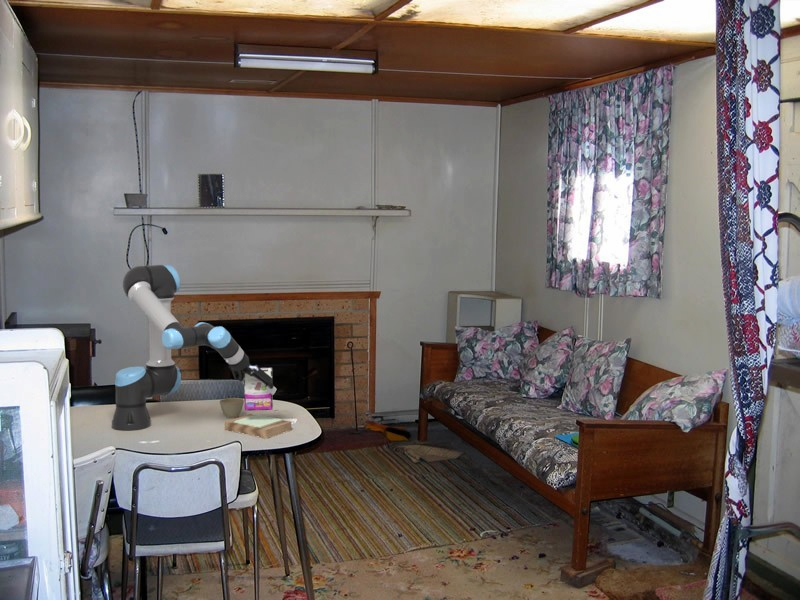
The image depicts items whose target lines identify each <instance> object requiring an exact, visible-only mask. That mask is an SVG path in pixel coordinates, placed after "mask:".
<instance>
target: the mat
mask: <svg viewBox="0 0 800 600" xmlns="http://www.w3.org/2000/svg"><path fill="white" fill-rule="evenodd" d="M282 420H283V419H280V418H276V417H271V416H270V417H269V416H265V415H259V414H253V416H250V417H246V418H243V419H240V420H236V421H234V423H239V424H244V425H249V426H254V427H259V428H261V427H264V426H268V425H271V424H274V423H277V422H280V421H282Z"/></svg>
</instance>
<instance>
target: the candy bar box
mask: <svg viewBox="0 0 800 600" xmlns="http://www.w3.org/2000/svg"><path fill="white" fill-rule="evenodd" d="M259 368H260V369H262V370H263V371H264V372H265V373H266V374H268V375H269V376H270V377H271V378H272V379H273V367H259ZM252 372H253V370H252ZM252 372H251V374H252ZM243 388H244V391H243V393H244V397H243V400H244V411H246V412H247V411H248V412H249V411H272V410H273V408H274V404H273V403H274V401H273V399H274V398H273V395H272V394H271V393H270V391H269V390H268V389H267V388H266V387H265V384H264V383H262V382H261V381H259V380H258V379H256V378H255V377H253V376H252V377H251V376H250V375H248V374H244V384H243Z"/></svg>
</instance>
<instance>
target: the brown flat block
mask: <svg viewBox="0 0 800 600" xmlns="http://www.w3.org/2000/svg"><path fill="white" fill-rule="evenodd" d="M253 415H254V414H252V413H249V414H245V415H242V416H238V417H237V418H230V419H228V420H225V421H224V431H227V430H228V432H232V431H233V432H232V433H237V432H240V433H239V434H242V433H244V434H243V435H246V434H249V435H248V436H251V435H254V436H253V437H256V436H259V437H258V438H261V437H263V438H262V439H266V438H267V439H270V438H273V437H275V435H276V436H278V434H279V435H281V433H282V434H284V433H283V432H285V433H287V432H286V431H288V432H290V431H289V430H291V431H292V421H289V420H283V419H281V420H282V421H280V422H277V423H274V424H271V425H268V426H264V427H261V428H259V427H254V426H249V425H244V424H239V423H234V421H236V420H240V419H243V418H246V417H250V416H253ZM272 436H273V437H272ZM269 437H270V438H269Z"/></svg>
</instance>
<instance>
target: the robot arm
mask: <svg viewBox="0 0 800 600" xmlns="http://www.w3.org/2000/svg"><path fill="white" fill-rule="evenodd" d="M122 288H123V292H124V294H125V295H126V297H127V299H129V301H131V302H133V303H136V305H137V306H138V307H139V308H140V309H141V310H142V312H143V313H144V314H145V315H146V317H147V318H148V320H149V322H148V325H149V326H148V327H149V328H148V329H149V333H148V334H149V360H148V361H147V362H146V363H145V367H144V366H137V365H136V366H130V367H125V368H122V369H120V370H118V371H117V372H116V374H115V379H114V380H115V381H114V385H115V387H114V388H115V409H114V410H115V411H114V414H113V418H112V420H111V428H112V429H114V430H117V431H118V430H119V431H135V430H143V429H146V428H149V427H150V426H152V425H151V424H152V422H151V421H152V420H151V417H150V414H149V410H148V408H147V399H148V398H153V397H154V398H155V397H160V396H167V395H170V394H173V393H176V392H177V391H178V390H179V389H180V386H181V383H182V373H181V371H180V368H179V367H178V365H176V362H175V361H174V360H173V359H172V350H178V349H185V348H190V347H198V346H199V347H200V346H207V347H210V348H211V349H213V350H215V351H217V353H219V355H220V356H221V358H223V360H225V362H226V363H227V364H228V368H229V369H230V371H231V373H232V376H233V378H234V380H238V381H240V382H241V383H242V384H243V385H244V374H248V375H250V376H251V377H252V376H253V377H255V378H256V379H258V380H259V381H261V382H262V383H264V384H265V387H266V388H267V389H268V390H269V391H270V393H271V394H272V395H275V393H276V391H277V388H276V387H275V386H274V384H273V381H274V379H273V377H272V378H271V377H270V376H269V375H268V374H266V373H265V372H264V371H263V370H262V369H260V368H261V367H260V366H259V365H258V364H255V365H252V364H251V363H250V358H249V356H248V354H246V352H245V351H244V350H243V349H242V348H241V345H239V344H238V342H237V341H236V340H235V339H234V338H233V336H232V335H231V333H230V332H229V331H228V330H227V329H226V328H225V327H223V326H222V325H221V326H220V325H219V326H214V325H212V324H210V323H207V322H203V321H202V322H198V323H197V324H195V325H194V326H188V327H186V326H185V327H184V326H183V325H182V324H181V323H180V322H179V321H178V320H177V319H176V317H175V315H173V314H172V313H171V312H172V311H171V307H172V305H171V304H172V303H171V302H172V301H173V300H174V299H175V294H176V293H178V291H179V290H180V288H181V278H180V275H179V272H178V271H177V269H176V268H175V267H174V266H172V265H169V264H157V265H156V264H155V265H138V266H135V267H132V268H130V269H129V270H128V271H127V272H126V273H125V275H124V278H123V280H122ZM252 370H253V372H252ZM251 372H252V374H251Z"/></svg>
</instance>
